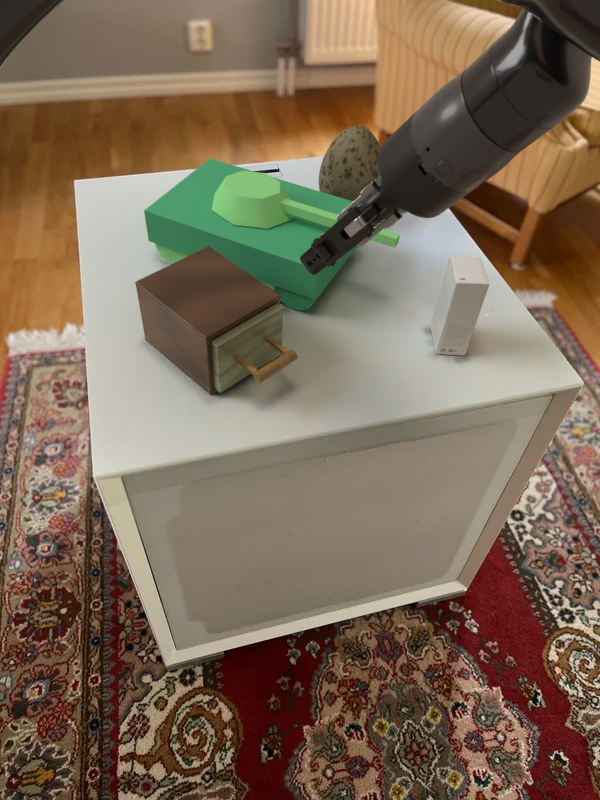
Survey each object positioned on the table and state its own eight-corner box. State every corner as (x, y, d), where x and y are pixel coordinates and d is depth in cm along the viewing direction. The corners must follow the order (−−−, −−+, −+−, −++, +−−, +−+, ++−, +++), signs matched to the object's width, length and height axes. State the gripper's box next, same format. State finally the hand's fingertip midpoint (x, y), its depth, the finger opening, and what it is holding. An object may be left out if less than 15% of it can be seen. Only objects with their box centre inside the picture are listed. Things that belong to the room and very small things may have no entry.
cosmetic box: (466, 356, 86) (490, 285, 77) (434, 354, 86) (455, 283, 77) (459, 326, 90) (481, 255, 81) (429, 325, 90) (448, 253, 81)
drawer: (308, 374, 81) (312, 327, 75) (247, 415, 76) (246, 369, 70) (219, 307, 89) (217, 261, 83) (158, 341, 83) (151, 294, 78)
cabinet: (278, 352, 84) (280, 294, 77) (210, 395, 79) (206, 337, 72) (212, 303, 91) (208, 245, 83) (145, 339, 85) (134, 281, 78)
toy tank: (375, 263, 78) (140, 186, 88) (363, 337, 87) (151, 260, 97) (422, 197, 89) (208, 135, 98) (407, 269, 98) (213, 206, 108)
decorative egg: (390, 211, 109) (405, 125, 98) (359, 239, 103) (371, 150, 92) (337, 191, 113) (346, 105, 102) (303, 217, 107) (309, 129, 96)
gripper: (460, 78, 53) (345, 185, 66) (375, 139, 45) (263, 248, 58) (513, 152, 54) (390, 243, 67) (439, 224, 46) (316, 312, 59)
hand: (331, 245), depth 62 cm, fingers open, 8 cm apart
